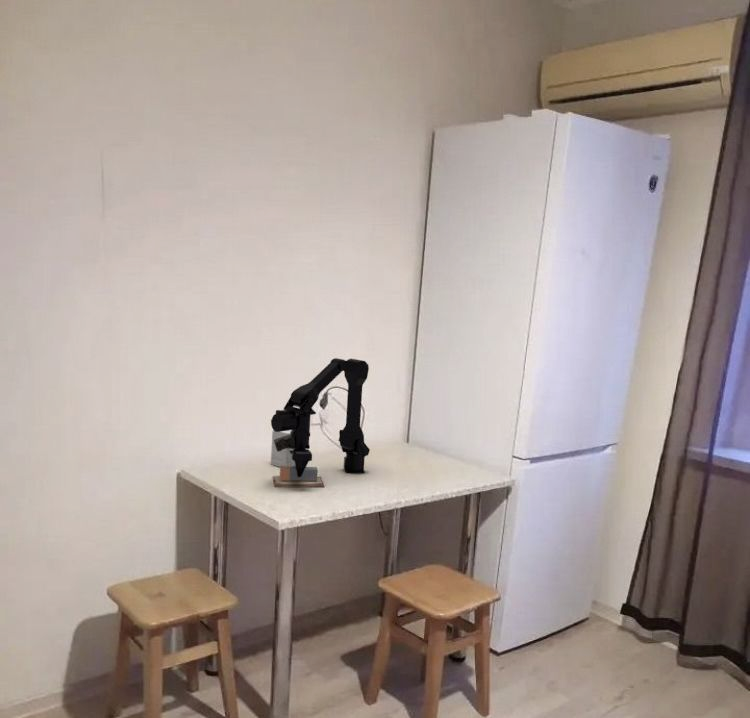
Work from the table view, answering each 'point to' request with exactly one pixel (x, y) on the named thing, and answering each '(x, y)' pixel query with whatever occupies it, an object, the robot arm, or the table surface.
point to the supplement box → (281, 456)
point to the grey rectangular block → (291, 473)
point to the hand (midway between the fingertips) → (298, 475)
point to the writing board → (297, 483)
